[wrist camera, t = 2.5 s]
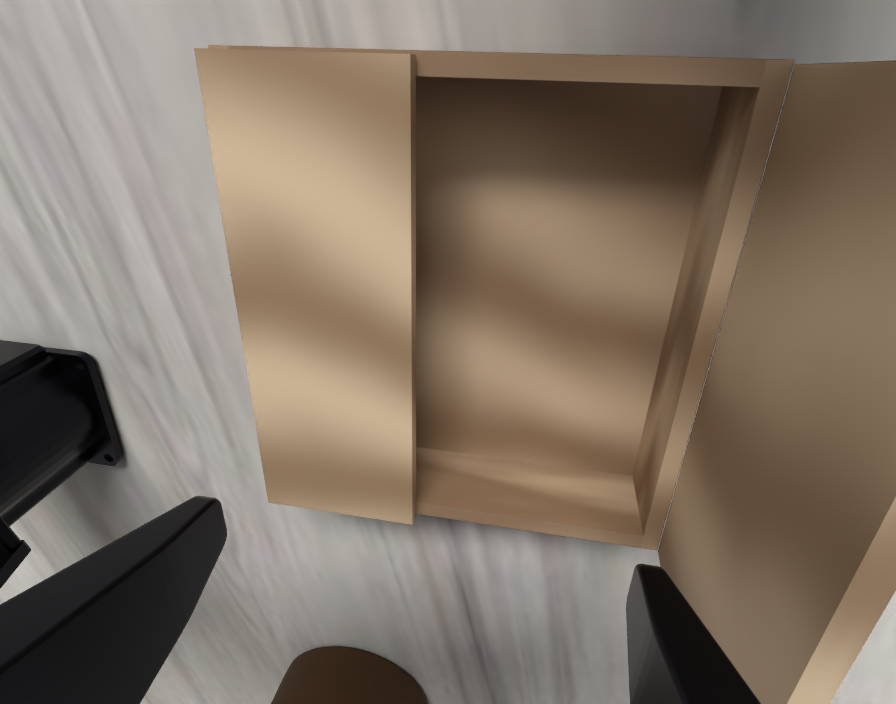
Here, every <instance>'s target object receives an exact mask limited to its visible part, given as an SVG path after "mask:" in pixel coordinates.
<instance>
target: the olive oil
mask: <svg viewBox="0 0 896 704" xmlns="http://www.w3.org/2000/svg"><path fill="white" fill-rule="evenodd" d="M271 704H428V703H427V700H426V697H425V695H424V693H423V691H422V690H421V688H420V687H419V685H418V684H417V683H416V682H415V681H414V680H413V678H412V677H410V676H409V675H408V674H407V673H406V672H405V671H403V670H402V669H401V668H399V667H398V666H396V665H395V664H393V663H391V662H390V661H388V660H386V659H384V658H382V657H379V656H377V655H374V654H372V653H369V652H366V651H362V650H358V649H353V648H347V647H321V648H316V649H313V650H310V651H307V652H305V653H303V654H301V655H300V656H298V657H297V658H296V659H295V660H294V661H293V662H292V664H291V665H290V667H289V668H288V670H287V672H286V674H285V676H284V678H283V680H282V682H281V684H280V686H279V688H278V690H277V693H276V695H275V697H274V699H273V701H272V703H271Z"/></svg>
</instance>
